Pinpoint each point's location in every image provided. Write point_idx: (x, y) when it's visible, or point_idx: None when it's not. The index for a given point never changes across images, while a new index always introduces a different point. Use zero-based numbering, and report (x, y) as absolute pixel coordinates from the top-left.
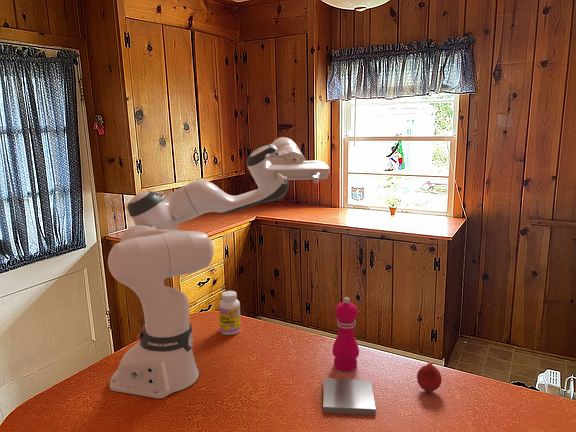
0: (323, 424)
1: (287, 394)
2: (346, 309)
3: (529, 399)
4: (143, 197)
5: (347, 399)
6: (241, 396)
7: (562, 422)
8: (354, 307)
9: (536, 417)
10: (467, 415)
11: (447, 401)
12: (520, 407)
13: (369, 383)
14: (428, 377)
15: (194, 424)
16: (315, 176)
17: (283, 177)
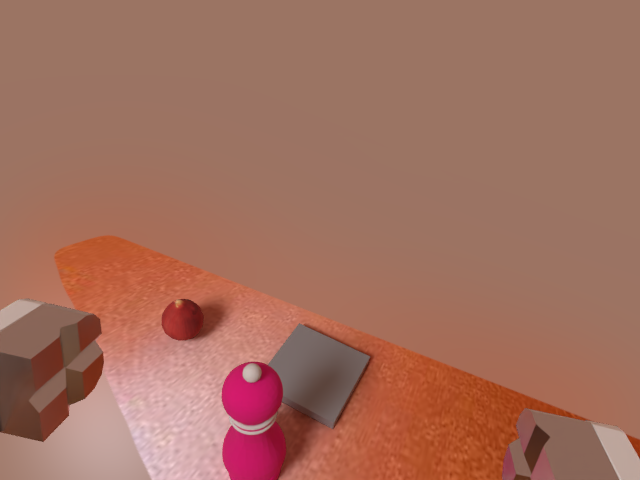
0: (378, 343)
1: (410, 427)
2: (266, 365)
3: (83, 272)
4: None
5: (325, 355)
6: (497, 459)
7: (106, 239)
8: (241, 365)
9: (120, 253)
10: (188, 284)
11: None
12: (113, 268)
13: None
14: (196, 304)
15: None
16: (30, 329)
17: (611, 452)
